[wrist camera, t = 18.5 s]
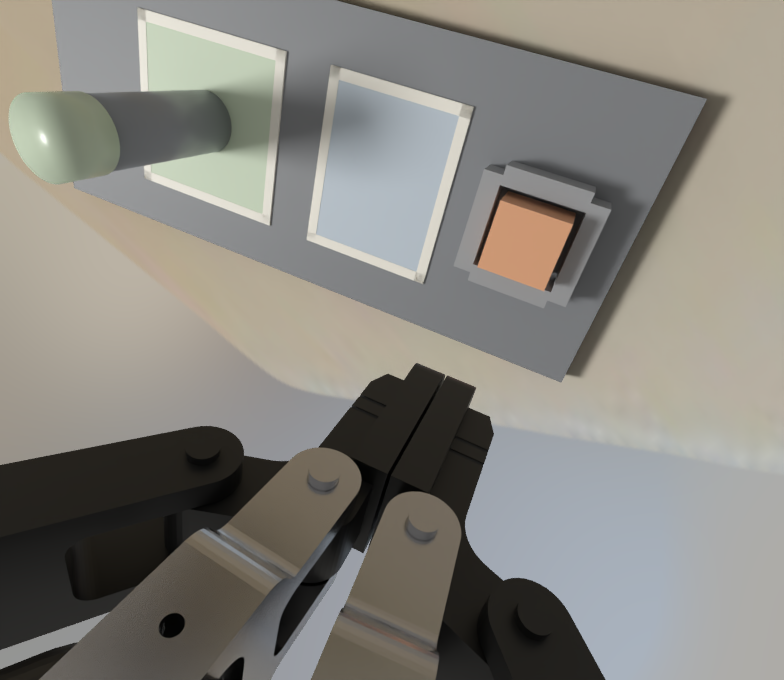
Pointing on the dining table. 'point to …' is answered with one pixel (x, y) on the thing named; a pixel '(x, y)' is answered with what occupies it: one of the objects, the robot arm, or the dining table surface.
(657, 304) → the dining table surface
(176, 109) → the marker
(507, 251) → the button
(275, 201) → the picture board
